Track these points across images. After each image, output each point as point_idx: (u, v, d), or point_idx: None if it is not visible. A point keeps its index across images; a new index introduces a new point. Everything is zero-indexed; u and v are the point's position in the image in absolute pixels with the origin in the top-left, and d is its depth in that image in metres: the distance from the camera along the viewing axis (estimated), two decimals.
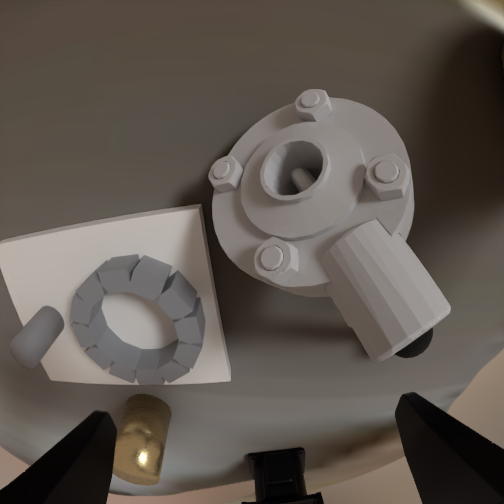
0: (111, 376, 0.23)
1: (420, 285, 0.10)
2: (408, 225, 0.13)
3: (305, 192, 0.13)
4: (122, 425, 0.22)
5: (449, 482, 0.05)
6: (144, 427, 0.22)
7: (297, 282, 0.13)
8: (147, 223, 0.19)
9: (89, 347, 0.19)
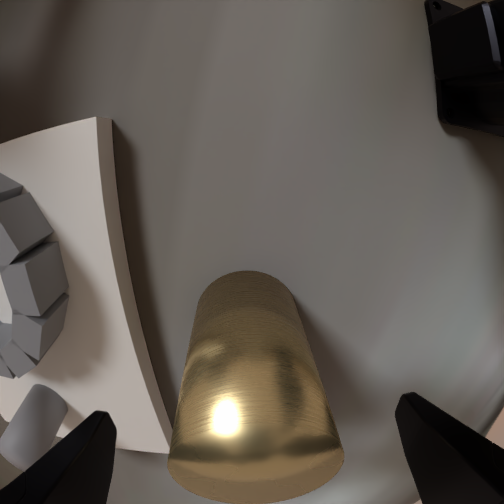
0: (119, 360, 0.13)
1: None
2: None
3: None
4: None
5: (449, 482, 0.05)
6: (188, 354, 0.10)
7: None
8: None
9: (7, 366, 0.10)
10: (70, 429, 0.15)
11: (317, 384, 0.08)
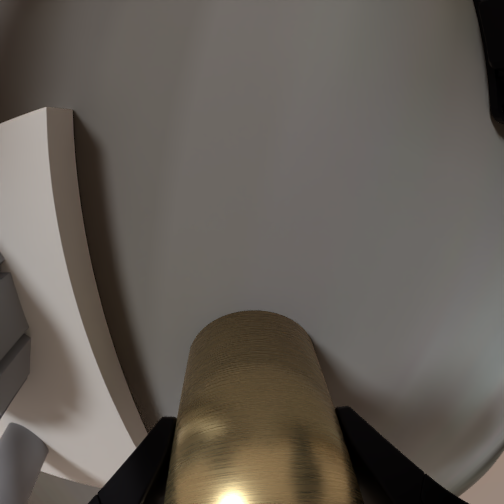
0: (97, 411, 0.09)
1: None
2: None
3: None
4: None
5: None
6: (176, 436, 0.06)
7: None
8: None
9: None
10: (54, 467, 0.12)
11: (353, 488, 0.05)
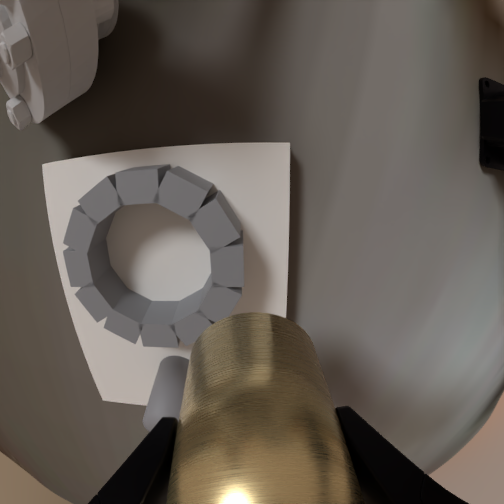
0: None
1: None
2: None
3: None
4: None
5: None
6: (178, 437, 0.06)
7: (23, 19, 0.06)
8: (54, 220, 0.16)
9: (176, 336, 0.15)
10: None
11: (355, 490, 0.05)
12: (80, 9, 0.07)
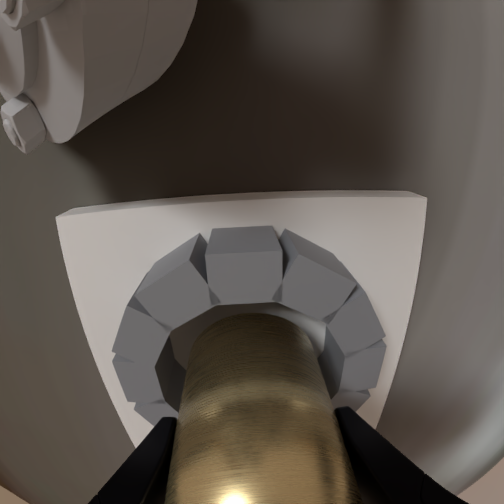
0: (370, 401, 0.14)
1: None
2: None
3: None
4: None
5: None
6: (176, 438, 0.06)
7: None
8: (83, 298, 0.11)
9: None
10: None
11: (353, 490, 0.05)
12: None
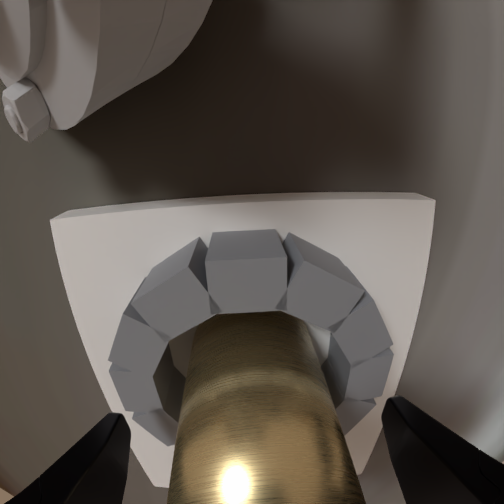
0: (374, 408, 0.13)
1: None
2: None
3: None
4: None
5: (433, 489, 0.05)
6: (182, 410, 0.07)
7: None
8: (79, 304, 0.11)
9: None
10: None
11: (345, 455, 0.05)
12: None
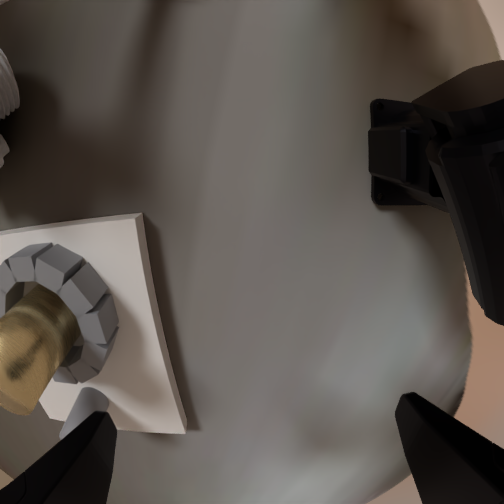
0: (152, 367, 0.20)
1: None
2: None
3: None
4: None
5: (449, 482, 0.05)
6: None
7: None
8: None
9: (73, 375, 0.17)
10: None
11: (27, 343, 0.12)
12: None
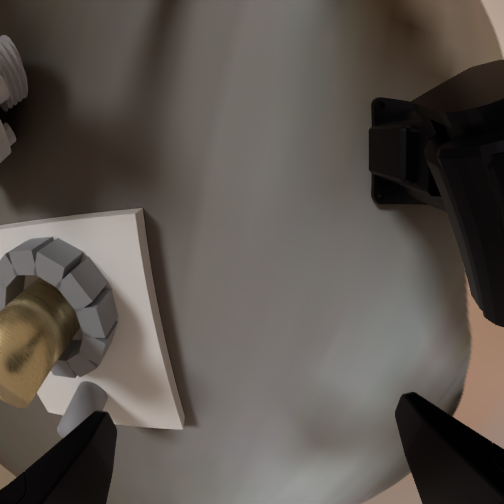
0: (150, 362, 0.20)
1: None
2: None
3: None
4: None
5: (449, 482, 0.05)
6: None
7: None
8: None
9: (71, 369, 0.17)
10: None
11: (26, 336, 0.12)
12: None
